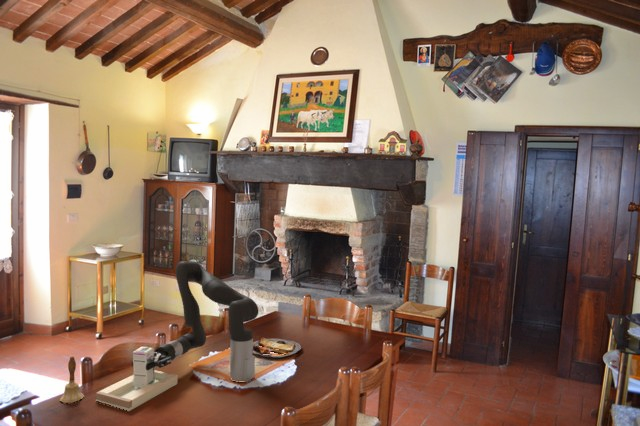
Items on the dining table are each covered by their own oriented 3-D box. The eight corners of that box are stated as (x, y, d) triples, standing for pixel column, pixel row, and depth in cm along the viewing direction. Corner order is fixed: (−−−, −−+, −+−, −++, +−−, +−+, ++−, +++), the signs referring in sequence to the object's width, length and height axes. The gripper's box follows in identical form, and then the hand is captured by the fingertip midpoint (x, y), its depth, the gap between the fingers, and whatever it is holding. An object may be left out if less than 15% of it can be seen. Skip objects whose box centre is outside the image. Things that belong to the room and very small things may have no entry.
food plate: (239, 354, 237) (239, 346, 237) (262, 339, 258) (263, 333, 258) (287, 364, 228) (287, 356, 227) (307, 348, 249) (307, 341, 249)
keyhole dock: (146, 376, 209) (146, 368, 209) (177, 383, 203) (177, 375, 203) (96, 401, 186) (95, 392, 186) (128, 411, 179) (128, 401, 179)
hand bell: (79, 391, 194) (78, 351, 193) (87, 399, 188) (87, 357, 187) (56, 398, 188) (55, 356, 187) (63, 406, 182) (63, 363, 181)
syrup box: (147, 388, 194) (146, 352, 193) (133, 387, 195) (132, 350, 194) (154, 382, 200) (154, 347, 198) (141, 381, 201) (141, 345, 199)
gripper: (155, 340, 212) (125, 353, 197) (182, 346, 206) (153, 359, 191) (155, 357, 213) (125, 372, 198) (182, 363, 207) (154, 379, 192)
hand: (139, 366), depth 194 cm, fingers closed on syrup box, 6 cm apart
